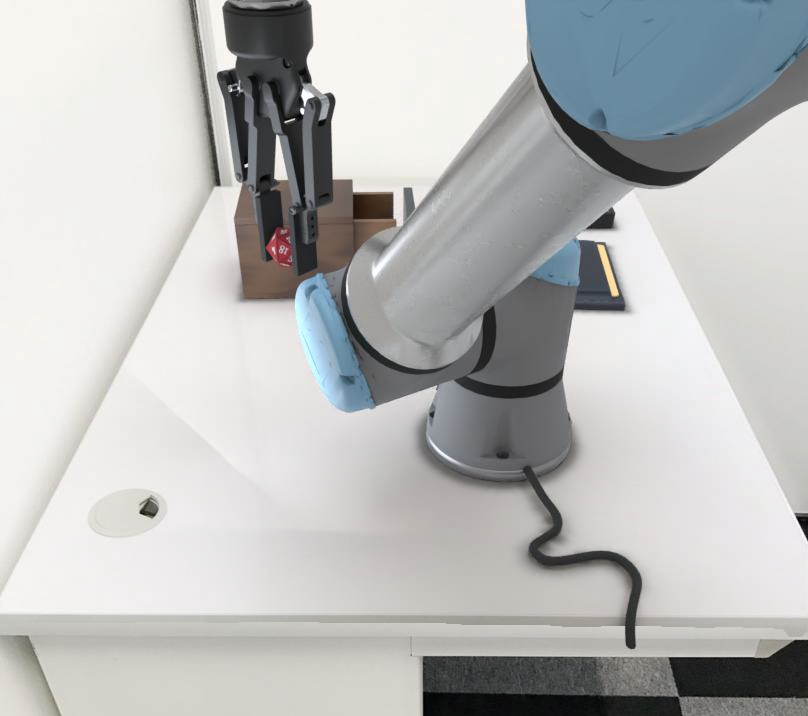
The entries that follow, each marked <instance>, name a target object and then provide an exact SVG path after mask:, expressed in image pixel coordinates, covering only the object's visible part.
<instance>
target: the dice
mask: <svg viewBox="0 0 808 716" xmlns="http://www.w3.org/2000/svg"><path fill="white" fill-rule="evenodd" d="M266 249H267V250H268V252H269V253H270V254H271V256H272V257H273V258H274V260H275V261H276V262H277V264H278V265H279V266H280V267H292V268H293V266H292V255H291V243H290V231H289V228H278V227H277V229H276V231H275V232H274V234H273V236H272V238H271V240H270V241H269V243H268V245H267V247H266Z"/></svg>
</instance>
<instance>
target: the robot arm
mask: <svg viewBox="0 0 808 716" xmlns="http://www.w3.org/2000/svg"><path fill="white" fill-rule="evenodd" d="M221 7H222V8H221V9H222V10H221V11H222V19H223V25H224V27H223V28H224V37H225V43H226V48H227V50H228V51H229V52H230V53H231V54H232V55H234V56H235V57H236V60H235V65H234V66H235V67H231V68H227V69H223V70H220V71H217V73H216V80H217V84H218V87H219V89H220V93H221V96H222V98H223V102H224V110H225V116H226V124H227V130H228V138H229V144H230V151H231V152H230V153H231V159H232V164H233V171H234V177H235V180H236V181H237V183H239V184H242V183H243V182H244V183H245V184H246V185H247V186H248V190H249V192H250V193H251V194H252V196H253V205H254V212H255V220H256V222H257V224H258V230H259V239H260V248H261V257H262V260H263V261H265V262H268V261H271V260H273V259H274V258H273V257H272V256H271V254H270V253H269V252H268V250H267V249H266V247H267V245H268V243H269V241H270V240H271V238H272V236H273V234H274V232H275V231H276V229H277V227H278V228H284V224H283V213H282V202H281V191H279V190H276V189H275V190H272V191H271V189H270V188H272V187H275V186H278V185H279V183H280V182H278V181H277V180H278V179H276V178H275V174H276V173H275V170H276V149H277V136H278V138H279V143H280V148H281V154H282V158H283V162H284V168H285V172H286V177H287V180H288V182H289V187H290V192H291V196H292V201H293V206H291V207H289V208H288V220H289V231H290V243H291V255H292V266H293V274H294V275H296V276H300V275H303V274H305V273H307V272H309V271H312V270H314V269H316V268H318V264H317V248H316V241H317V240H318V237H319V230H318V214H317V210H318V208H320V207H323V206H326V205H328V204H331V203H332V202H333V180H334V174H333V173H334V171H333V169H334V168H333V133H332V131H333V130H332V129H333V128H332V121H333V116H334V112H335V107H336V105H337V103H336V97H335V95H334V93H332V92H326V93H322V92H321V91H320V90H319V89H318V88H316V87H315V86H314V85H313V78H312V75H311V72H310V69H309V65H308V56H309V55H310V52H311V51H312V49H313V47H314V43H315V42H314V26H313V10H312V8H313V7H312V5H311V3H310V2H309V0H225V2H224V3H223V5H222V6H221ZM524 8H525V9H524V10H525V21H526V24H525V25H526V57H527V63H526V64H525V66H524V67H523V68H522V69H521V71H520V72H519V74H518V75H517V76H516V77H515V79H514V80H513V81H512V82H511V84H510V85H509V86H508V88H507V89H506V90H505V92H503V94H502V95H501V97H500V98H499V99H498V100H497V102H496V103H495V105H494V106H493V107H492V108H491V109H490V111H489V112H488V113H487V115H486V116H485V117H484V119H483V120H482V122H481V123H480V124H479V125H478V126H477V128H476V129H475V131H474V132H473V133H472V134H471V136H470V137H469V138H468V140H467V141H466V142H465V143H464V144H463V146H462V147H461V148H460V150H459V151H458V153H457V154H456V155H455V156H454V157H453V159H452V160H451V162H450V163H449V164H448V166H447V167H446V168H445V169H444V171H443V172H442V173H441V174H440V176H439V177H438V179H437V180H436V181H435V182H434V183H433V185H432V186H431V188H430V189H429V190H428V191H427V193H426V194H425V195H424V196H423V198H422V199H421V200H420V202H419V203H418V204H417V206H415V210H414V211H413V212H412V214H411V215H410V216H409V218H408V219H407V220H406V221H405V223H404V224H403V223H402V225H401V226H400V225H399V226H396V227H392V228H389V229H386V230H383V231H381V232H378V233H377V234H375V235H373V236H372V237H371V238H369V239H368V240H367V241H366V242H365V243H363V244H362V245H361V247H360V248H359V249H358V250H357V252H356V253H355V255H354V256H353V257H352V259H351V260H350V261H349V263H348V264H347V266H346V267H344V268H342V269H340V270H338V271H335V272H331V273H327V274H322V273H318V274H317V275H316V276H315V277H312V278H310V279H307V280H305V281H303V282H302V283H301V284H300V285H299V287H298V289H297V292H296V297H295V298H294V310H295V318H296V323H297V329H298V334H299V337H300V342H301V345H302V348H303V352H304V354H305V357H306V360H307V363H308V364H309V367H310V370H311V372H312V374H313V376H314V378H315V380H316V383H317V384H318V387H319V388H320V390H321V391H322V393H323V394H324V396H325V397H326V398H327V400H328V402H329V403H330V404H331V405H332V406H333V407H334V408H336V409H337V410H338V411H341V412H343V413H348V414H350V413H356V412H360V411H365V410H371V411H372V410H374V409H376V407H378V406H382V405H384V404H387V403H391V402H393V401H396V400H399V399H402V398H404V397H408V396H410V395H415V394H417V393H419V392H422V391H425V390H428V389H432V388H433V387H436V388H435V391H436V392H435V394H434V397H433V399H432V402H431V404H430V407H429V409H428V411H427V415H426V421H425V441H426V444H427V447H428V448H429V450H430V452H431V453H432V454H433V456H434V457H435V458H436V459H437V460H438V461H440V462H441V463H442V464H444V465H445V466H446V467H448V468H450V469H451V470H454V471H456V472H458V473H460V474H463V475H465V476H469V477H471V478H475V479H480V480H486V481H493V482H514V481H515V482H516V481H523V480H528V482H529V483H530V486H531V487H532V489H533V491H534V493H535V494H536V496H537V497H538V499H539V501H540V502H541V504H542V505H543V506H544V508H545V509H546V510H547V511H548V513H549V514H550V516H551V518H552V521H553V525H552V527H551V528H549V530H547V531H546V532H544V533H542V534H540V535H539V536H537V537H536V538H534V539H532V540H531V541H530V543H529V545H528V553H529V554H530V556H531V558H532V559H534V560H535V561H536V562H537V563H540V564H542V565H544V566H550V567H556V566H557V567H560V566H567V565H569V566H570V565H575V564H579V563H584V562H585V563H586V562H592V561H609V562H613V563H615V564H617V565H618V566H620V567H621V568H622V569H623V570H625V571H626V572H627V573H628V574H629V576H630V578H631V591H630V594H629V598H628V602H627V606H626V612H625V618H624V620H625V621H624V641H625V643H624V644H625V647H626V648H627V649H629V650H635V649H636V647H637V641H636V619H637V612H638V607H639V603H640V600H641V599H640V598H641V593H642V589H643V578H642V575H641V573H640V571H639V570H638V568H637V566H636V565H634V563H633V562H632V561H631V560H630V559H628V558H627V557H625V556H624V555H622V554H620V553H618V552H614V551H611V550H590V551H583V552H578V553H573V554H567V555H566V554H565V555H560V556H559V555H558V556H557V555H556V556H552V555H547V554H544V553H542V552H541V551H540V550H539V548H540V547H541V546H543V545H545V544H546V543H548V542H550V541H551V540H553V539H554V538H556V537H557V536H558V535H559V534H560V532H561V531H562V529H563V525H564V523H563V516H562V513H561V512H560V510H559V509H558V508H557V506H556V505H555V503H554V502H553V501H552V500H551V499H550V497H549V495H547V493H546V491H545V489H544V487H543V486H542V483H541V482H540V481H539V479H538V477H539V476H542V475H544V474H546V473H548V472H550V471H552V470H554V469H555V468H557V467H558V466H559V465H560V464H561V463H562V462H563V461H564V460H565V459H566V457H567V455H568V454H569V451H570V448H571V442H572V438H573V437H572V436H573V426H572V425H573V424H572V423H573V422H572V418H571V414H570V412H569V409H568V402H567V397H566V392H565V385H564V380H563V378H564V370H565V365H566V359H567V352H568V347H569V340H570V336H571V335H570V334H571V328H572V323H573V318H574V311H575V308H574V306H575V300H576V294H577V288H578V285H579V284H580V277H579V276H578V274H579V264H580V254H581V249H580V244H579V241H578V240H579V239H578V238H577V237H578V236H579V235H580V234H581V233H582V232H584V231H585V230H586V229H588V228H587V227H588V226H590V225H591V224H592V223H593V222H594V221H596V220H597V219H598V218H599V217H600V216H602V215H603V214H604V213H605V212H606V211H608V210H609V209H610V208H611V207H614V206H615V205H616V204H617V203H619V202H620V201H621V200H623V198H625V197H626V196H627V195H628V194H630V193H631V192H633V190H635V188H637V189H644V190H666V189H671V188H675V187H679V186H682V185H684V184H686V183H688V182H690V181H691V180H694V179H695V178H696V177H697V176H699V175H700V174H702V173H703V172H704V171H706V170H708V169H709V168H710V167H711V166H713V165H714V164H715V163H716V162H718V161H719V160H720V159H722V158H723V157H724V156H725V155H727V154H728V153H729V152H731V151H732V150H733V149H735V148H736V147H738V145H740V144H741V143H742V142H744V141H745V140H747V139H748V138H749V137H750V136H752V135H753V134H754V133H755V132H757V131H758V130H759V129H761V128H763V126H765V125H766V124H767V123H769V122H770V121H772V120H773V119H775V118H776V117H778V116H780V115H781V114H782V113H784V112H786V111H788V110H790V109H792V108H794V107H796V106H798V105H801V104H803V103H806V102H808V0H524ZM246 165H247V166H246ZM304 195H306V196H304Z"/></svg>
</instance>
